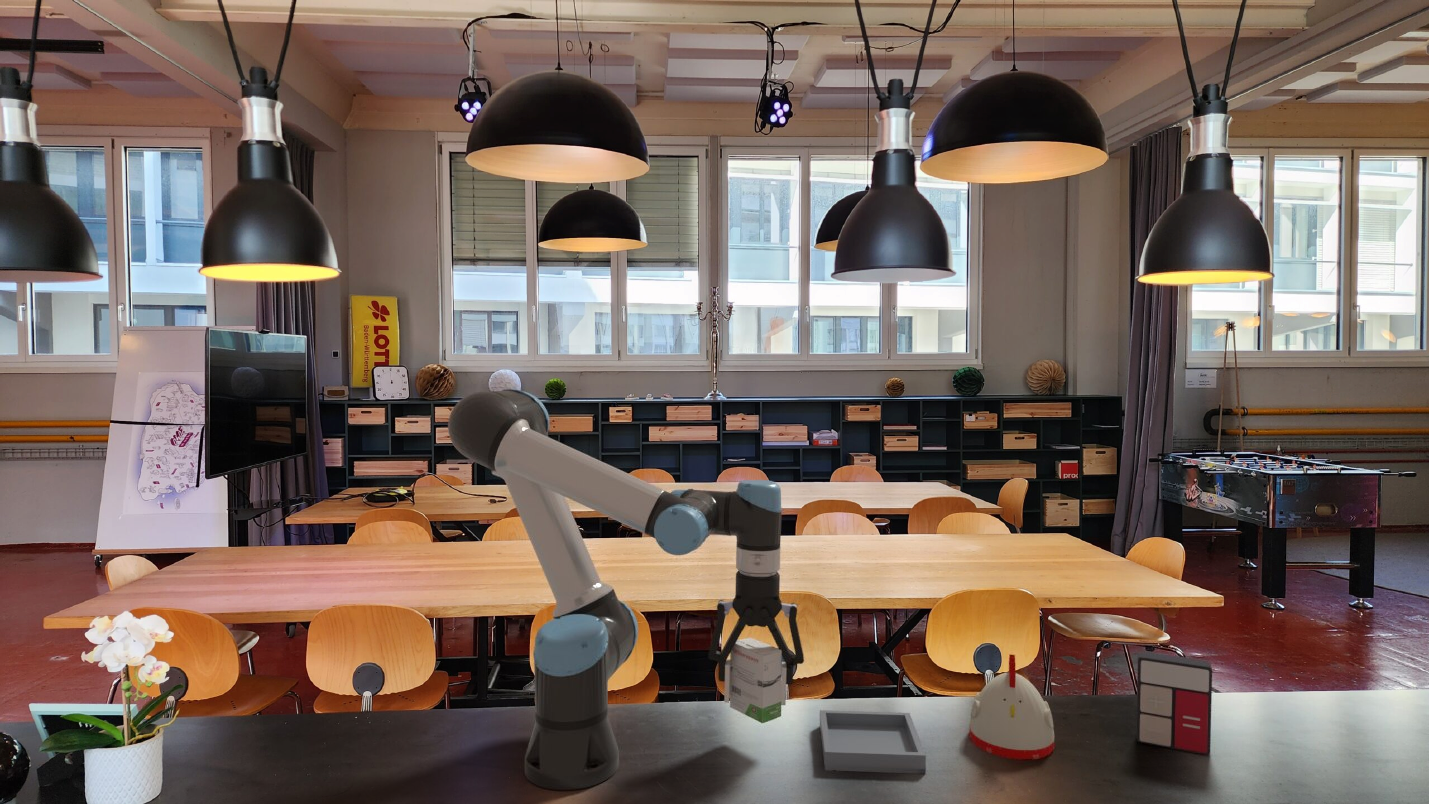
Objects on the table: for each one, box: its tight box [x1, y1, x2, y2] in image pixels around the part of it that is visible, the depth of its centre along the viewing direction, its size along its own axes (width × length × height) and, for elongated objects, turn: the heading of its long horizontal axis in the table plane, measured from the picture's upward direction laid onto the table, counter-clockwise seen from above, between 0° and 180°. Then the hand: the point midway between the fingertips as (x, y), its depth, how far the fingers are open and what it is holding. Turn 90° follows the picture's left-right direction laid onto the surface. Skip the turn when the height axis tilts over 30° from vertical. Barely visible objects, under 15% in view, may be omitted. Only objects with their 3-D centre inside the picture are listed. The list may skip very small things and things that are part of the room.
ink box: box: [729, 637, 783, 724], centre depth 139 cm, size 9×5×12 cm, turn 39°
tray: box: [819, 709, 927, 775], centre depth 138 cm, size 16×16×3 cm
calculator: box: [1135, 651, 1213, 756], centre depth 138 cm, size 11×4×15 cm, turn 62°
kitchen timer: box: [968, 653, 1055, 760], centre depth 141 cm, size 14×14×15 cm
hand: (755, 700), depth 139 cm, fingers closed on ink box, 9 cm apart
